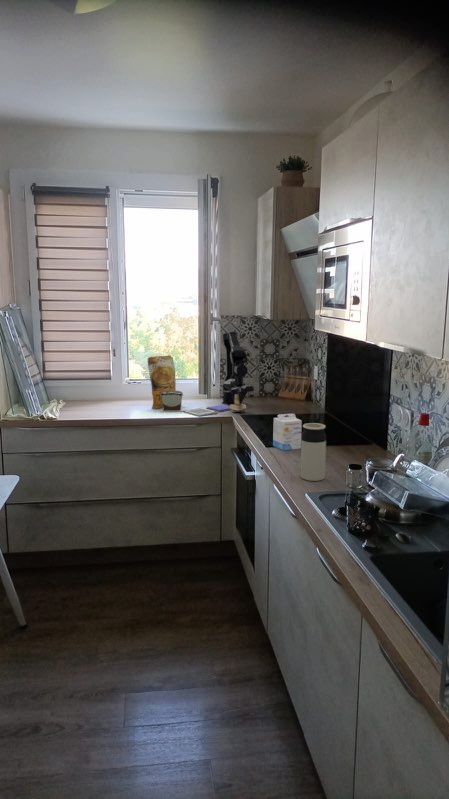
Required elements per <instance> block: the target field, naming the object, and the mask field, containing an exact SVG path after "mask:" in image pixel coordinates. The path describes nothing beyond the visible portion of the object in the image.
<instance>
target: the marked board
mask: <svg viewBox="0 0 449 799" xmlns="http://www.w3.org/2000/svg"><path fill="white" fill-rule="evenodd" d="M181 412H182V413H184V414H189V415H192V416H195V417H205V416H210V415H211V416H212V415H217V414H219V412H217V411H213V410H208V409H206V408H203V407H198V408H192V409H186V410H181Z"/></svg>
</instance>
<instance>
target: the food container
mask: <svg viewBox="0 0 449 799" xmlns="http://www.w3.org/2000/svg"><path fill="white" fill-rule="evenodd" d="M160 396H162V404H163V408H162V409H163V410H162V411H164V412H165V411H166V412H169V411H170V412H182V401H183V396H184V393H183V391H181V390H176V391H163V392H161V395H160Z"/></svg>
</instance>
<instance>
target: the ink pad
mask: <svg viewBox="0 0 449 799" xmlns="http://www.w3.org/2000/svg"><path fill="white" fill-rule="evenodd" d="M205 409H208V410H212V411H215V412H218V413H222V412H227V411H231V410H230V405H226V404H225V405H224V404H218V405H212V406H207V407H206V408H205Z"/></svg>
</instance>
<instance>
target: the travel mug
mask: <svg viewBox="0 0 449 799" xmlns="http://www.w3.org/2000/svg"><path fill="white" fill-rule="evenodd" d="M326 428H327V427H326V424H323V423H319V422H317V423H316V422H309V423H304V424H303V425H302V429H303V431H302V432H301V448H300V449H301V451H300V452H301V455H300V456H301V457H300V477H301V479H303V480H306V481H309V482H318V481H322V480H324V479H325V478H326V456H327V455H326V454H327V452H326V449H327V447H326V446H327V435H326V432H325V429H326Z"/></svg>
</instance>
